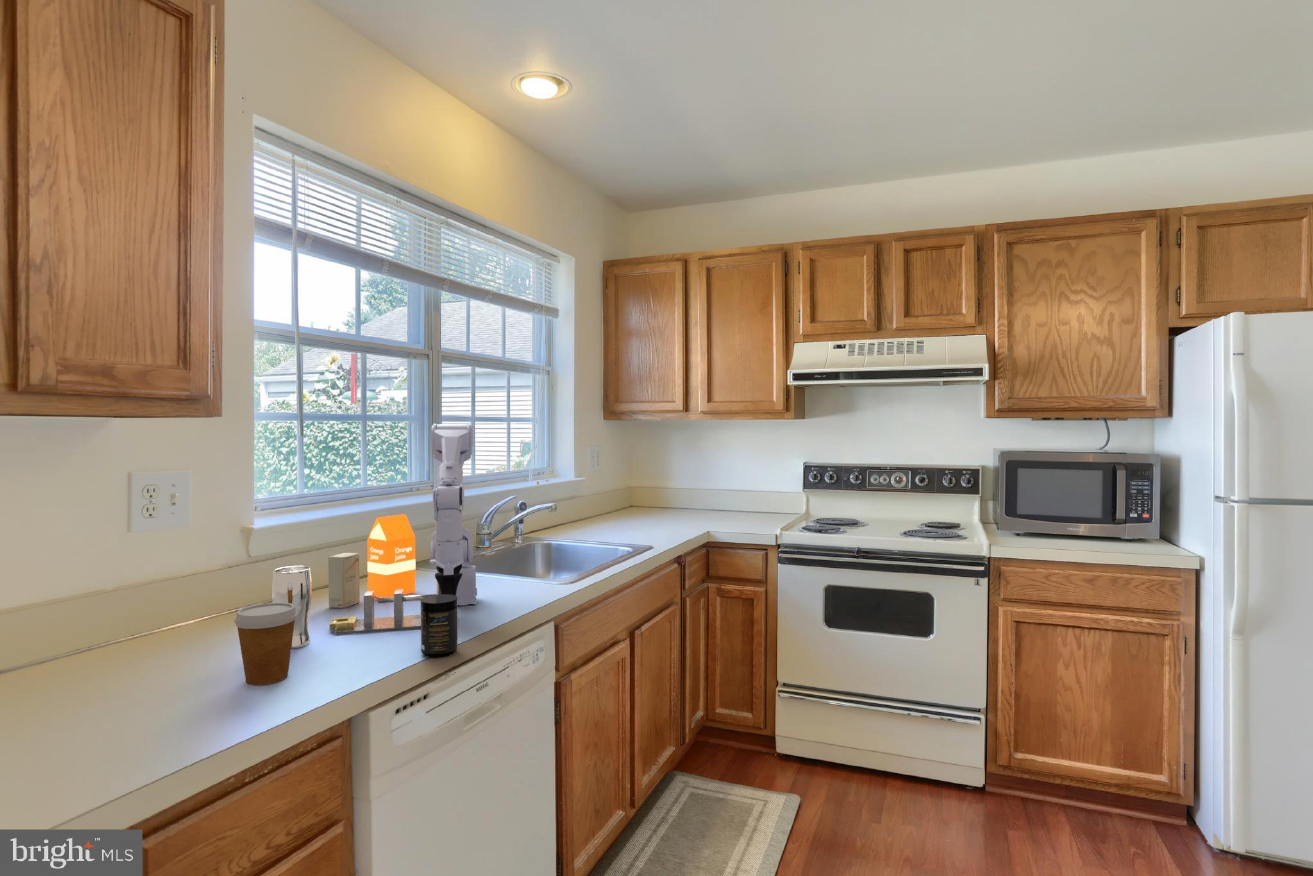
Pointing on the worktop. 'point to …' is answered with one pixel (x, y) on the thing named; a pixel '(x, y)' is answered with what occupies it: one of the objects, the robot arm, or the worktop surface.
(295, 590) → the beer glass
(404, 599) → the shaft
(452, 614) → the supplement container
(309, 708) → the worktop surface
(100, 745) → the worktop surface
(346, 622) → the block
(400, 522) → the orange juice
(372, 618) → the bracket
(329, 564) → the skincare box
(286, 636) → the disposable coffee cup
